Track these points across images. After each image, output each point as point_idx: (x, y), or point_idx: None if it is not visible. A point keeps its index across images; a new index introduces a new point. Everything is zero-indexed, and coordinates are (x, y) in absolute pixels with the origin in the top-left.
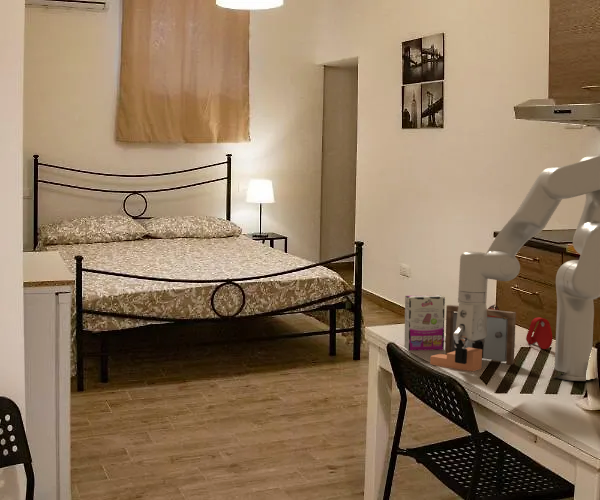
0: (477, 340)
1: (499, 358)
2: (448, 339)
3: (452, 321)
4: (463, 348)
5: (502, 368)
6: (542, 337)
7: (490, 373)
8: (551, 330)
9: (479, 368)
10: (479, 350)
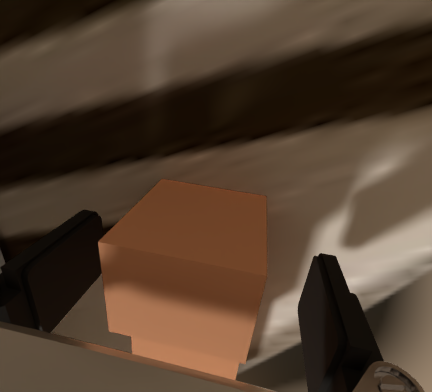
0: (162, 361)
1: None
2: None
3: None
4: (410, 382)
5: (73, 71)
6: None
7: (264, 83)
8: None
9: (184, 184)
10: (149, 250)
